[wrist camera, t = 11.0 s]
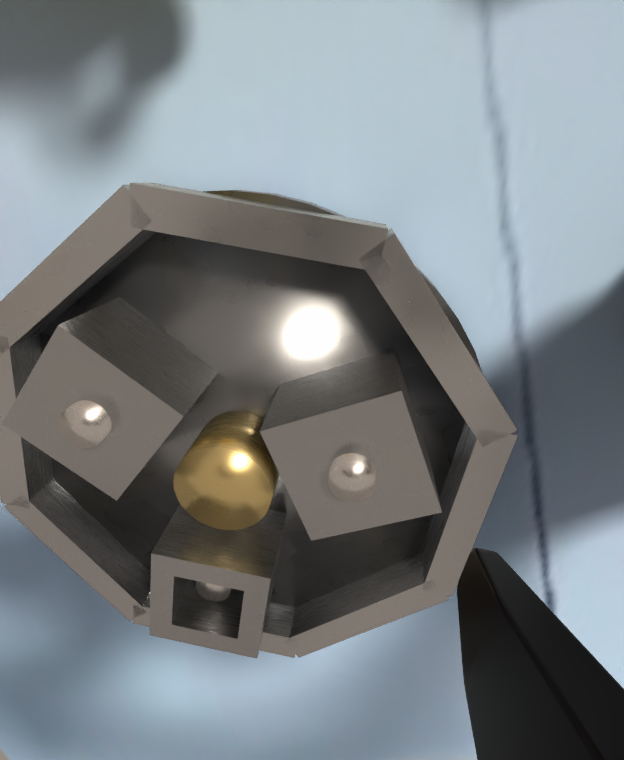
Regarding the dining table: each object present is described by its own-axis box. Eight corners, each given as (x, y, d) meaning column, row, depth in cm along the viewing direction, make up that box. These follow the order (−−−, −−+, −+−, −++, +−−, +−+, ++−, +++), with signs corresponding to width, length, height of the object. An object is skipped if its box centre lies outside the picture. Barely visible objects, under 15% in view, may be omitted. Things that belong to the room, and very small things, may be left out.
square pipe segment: (286, 512, 22) (270, 578, 18) (273, 585, 24) (257, 658, 20) (186, 492, 22) (151, 553, 18) (182, 566, 24) (149, 634, 20)
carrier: (563, 244, 17) (652, 272, 12) (415, 635, 26) (427, 751, 21) (1, 145, 18) (-155, 128, 12) (48, 558, 27) (-31, 650, 21)
